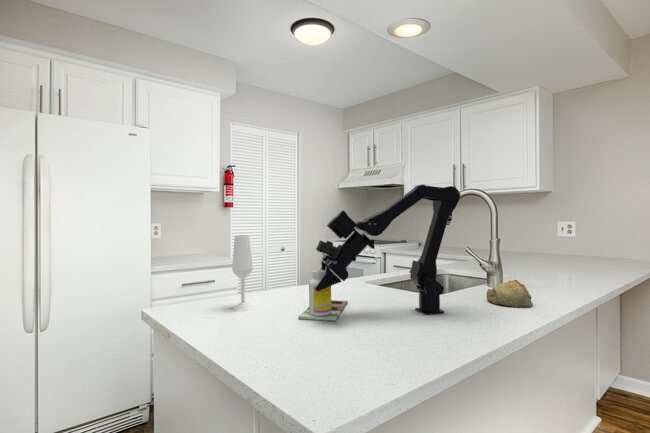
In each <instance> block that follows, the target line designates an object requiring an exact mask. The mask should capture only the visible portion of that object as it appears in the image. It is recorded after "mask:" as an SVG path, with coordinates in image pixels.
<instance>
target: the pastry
mask: <svg viewBox="0 0 650 433" xmlns="http://www.w3.org/2000/svg"><path fill="white" fill-rule="evenodd" d="M486 299H487V301H488V302H490V303H492V304H495V305H497V306H498V305H499V306H506V307H513V308H527V309H528V308H532V307H533V305H534V304H533V303H532V295H531V294H530V292H529V290H528V289H527V287H526V285H525V284H523V283H521V282H519V280H517V279H513V280H509V281H506V282H502V283H500V284H496V285H493V287H492V288H488V289H487V291H486Z"/></svg>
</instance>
